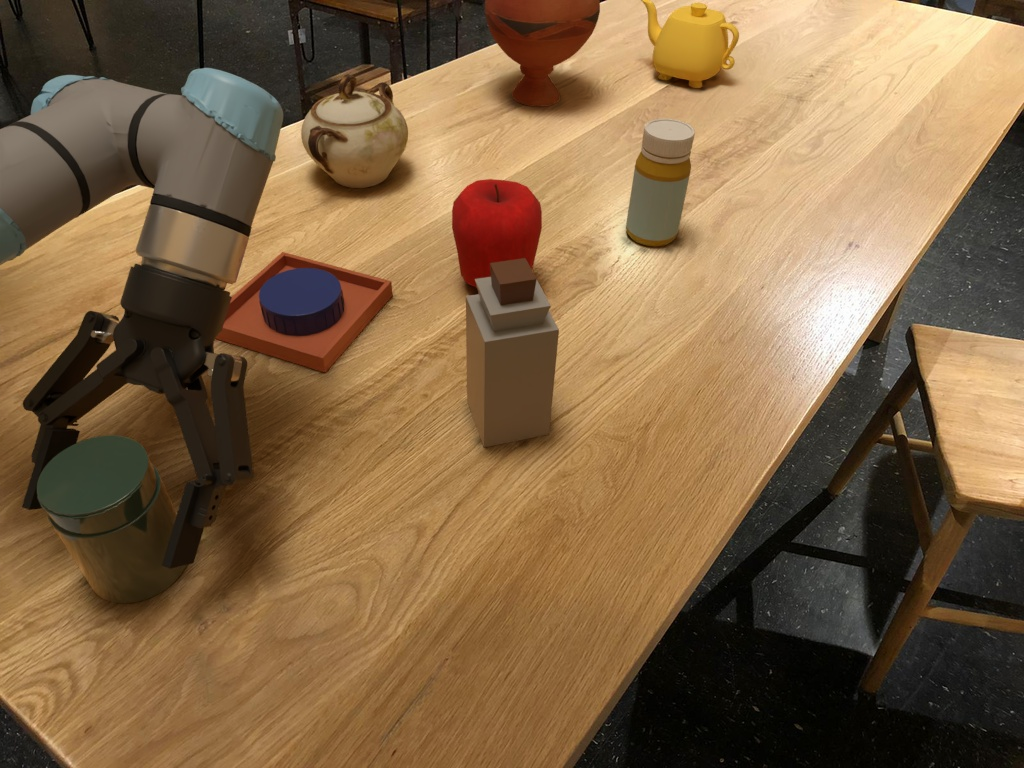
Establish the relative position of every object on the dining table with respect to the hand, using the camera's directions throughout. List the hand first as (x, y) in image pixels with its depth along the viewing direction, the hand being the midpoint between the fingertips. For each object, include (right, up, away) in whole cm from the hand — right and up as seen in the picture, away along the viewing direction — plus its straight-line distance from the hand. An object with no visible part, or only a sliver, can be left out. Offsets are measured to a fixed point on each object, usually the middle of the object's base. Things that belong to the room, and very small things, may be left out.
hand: (106, 535), depth 60 cm
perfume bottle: (+31, +8, +18) cm, 37 cm away
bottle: (+51, +32, +44) cm, 75 cm away
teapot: (+64, +71, +86) cm, 129 cm away
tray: (+7, +20, +29) cm, 36 cm away
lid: (+8, +22, +27) cm, 36 cm away
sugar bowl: (+9, +43, +54) cm, 70 cm away
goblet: (+36, +63, +77) cm, 105 cm away
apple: (+30, +24, +35) cm, 52 cm away
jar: (0, -3, +5) cm, 6 cm away
